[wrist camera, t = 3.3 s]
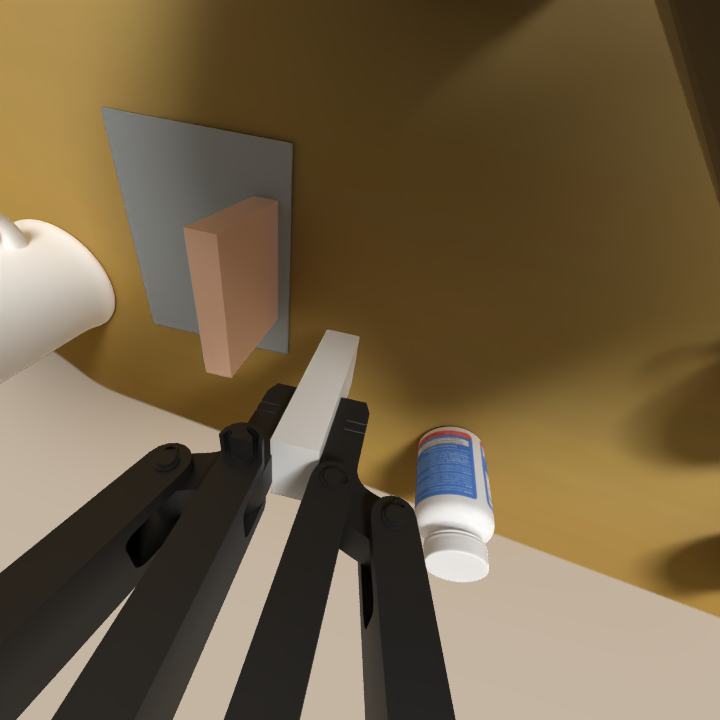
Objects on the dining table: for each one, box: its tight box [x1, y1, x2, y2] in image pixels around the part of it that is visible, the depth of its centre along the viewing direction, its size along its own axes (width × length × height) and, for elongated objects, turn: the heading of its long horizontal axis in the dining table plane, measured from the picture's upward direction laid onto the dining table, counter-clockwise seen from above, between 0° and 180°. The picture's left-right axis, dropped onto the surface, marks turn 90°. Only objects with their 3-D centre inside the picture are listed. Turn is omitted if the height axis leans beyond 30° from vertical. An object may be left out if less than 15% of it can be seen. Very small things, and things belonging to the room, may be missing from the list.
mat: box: [100, 107, 293, 354], centre depth 23 cm, size 14×11×1 cm
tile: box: [183, 196, 278, 378], centre depth 20 cm, size 8×2×7 cm, turn 172°
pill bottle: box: [415, 427, 495, 582], centre depth 26 cm, size 6×5×10 cm
